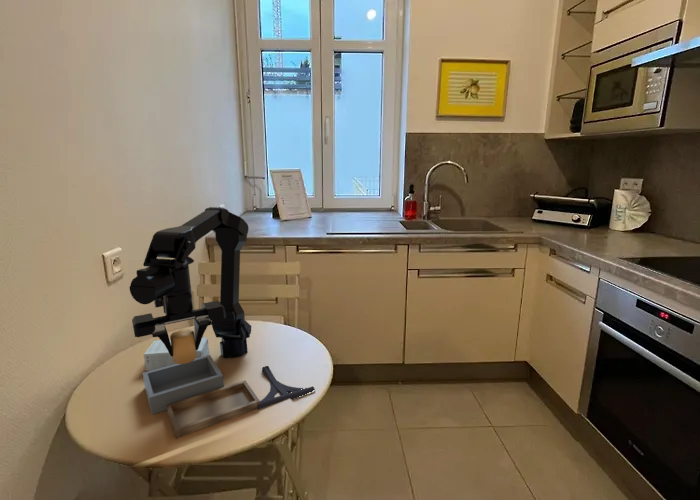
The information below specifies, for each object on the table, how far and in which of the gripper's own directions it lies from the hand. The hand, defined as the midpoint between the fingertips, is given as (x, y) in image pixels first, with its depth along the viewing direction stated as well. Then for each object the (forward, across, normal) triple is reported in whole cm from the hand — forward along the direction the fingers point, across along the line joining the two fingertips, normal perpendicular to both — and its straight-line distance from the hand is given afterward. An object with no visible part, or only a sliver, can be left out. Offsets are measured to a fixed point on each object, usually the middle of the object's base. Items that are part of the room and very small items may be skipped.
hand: (184, 352), depth 92 cm
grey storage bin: (+12, 0, -4) cm, 13 cm away
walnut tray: (+13, -4, +8) cm, 15 cm away
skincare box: (+10, +6, -23) cm, 25 cm away
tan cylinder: (+2, 0, 0) cm, 2 cm away
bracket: (+13, -19, +5) cm, 24 cm away
